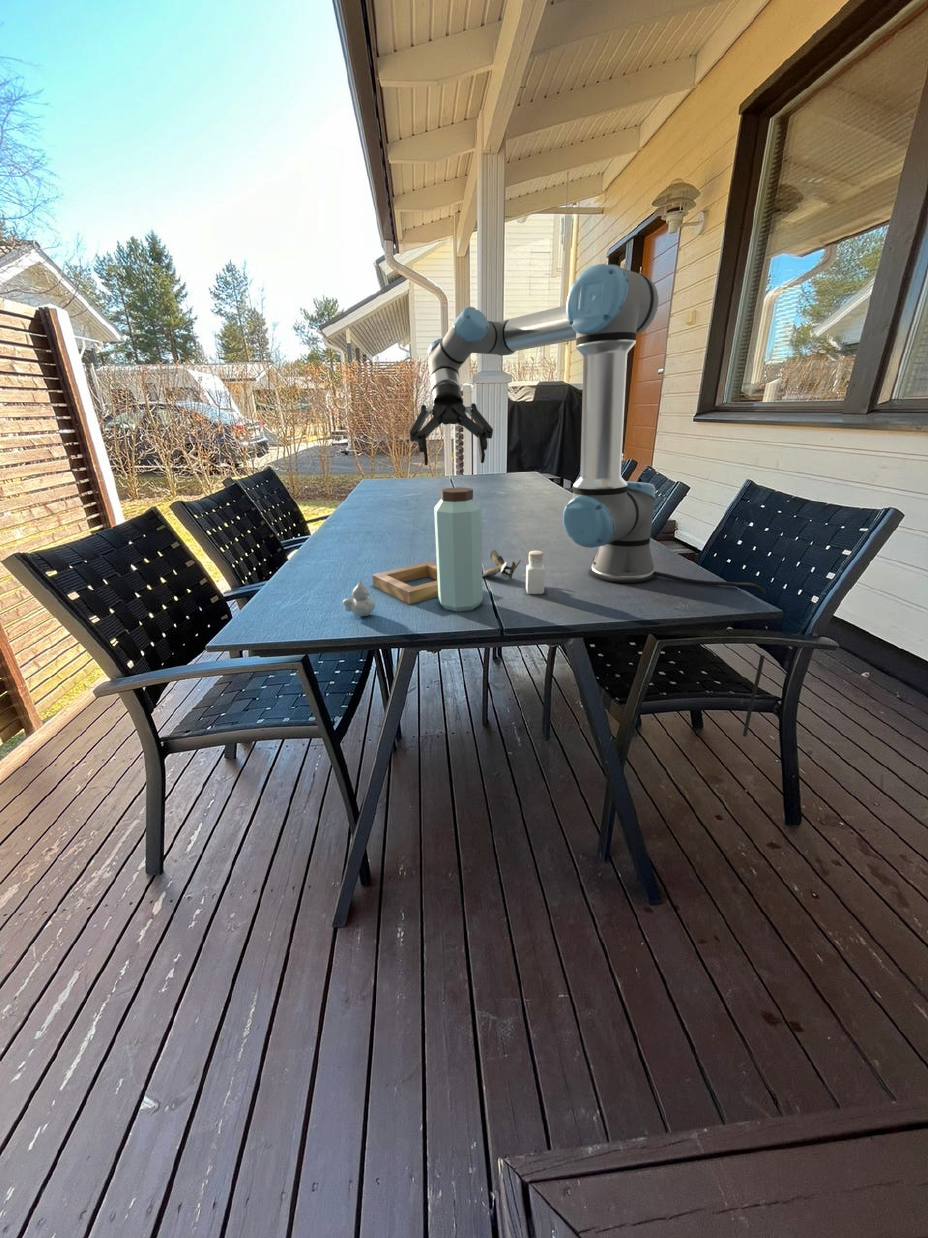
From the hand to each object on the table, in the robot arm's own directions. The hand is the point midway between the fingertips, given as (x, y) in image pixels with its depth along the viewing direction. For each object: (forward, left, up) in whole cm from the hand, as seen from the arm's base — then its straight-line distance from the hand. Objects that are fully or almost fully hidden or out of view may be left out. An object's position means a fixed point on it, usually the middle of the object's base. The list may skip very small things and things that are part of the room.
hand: (454, 460), depth 125 cm
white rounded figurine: (-8, +32, -29) cm, 44 cm away
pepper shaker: (-22, -6, -29) cm, 37 cm away
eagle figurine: (-8, -7, -29) cm, 31 cm away
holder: (-1, +12, -29) cm, 31 cm away
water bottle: (-17, +12, -29) cm, 36 cm away
